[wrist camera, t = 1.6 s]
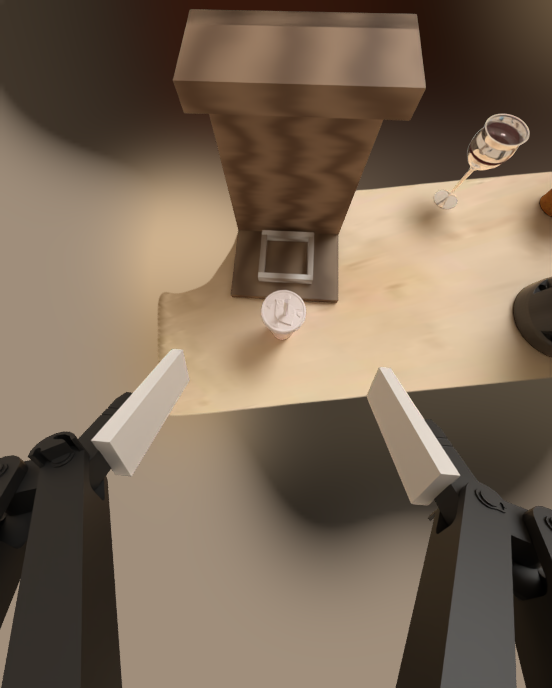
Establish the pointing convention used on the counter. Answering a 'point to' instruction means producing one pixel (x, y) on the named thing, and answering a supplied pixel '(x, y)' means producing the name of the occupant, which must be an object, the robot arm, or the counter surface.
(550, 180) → the counter surface
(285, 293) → the smoothie
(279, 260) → the overhang shelf
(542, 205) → the disposable coffee cup
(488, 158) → the wineglass
